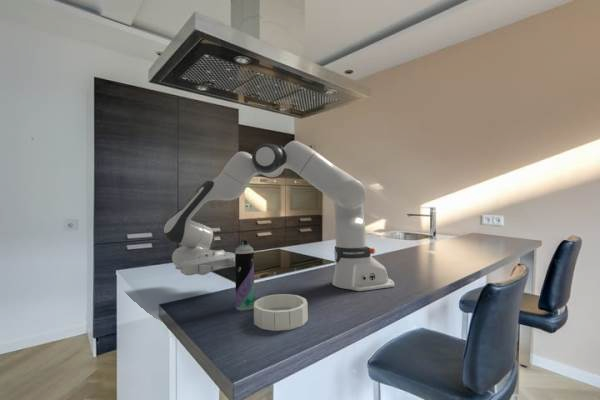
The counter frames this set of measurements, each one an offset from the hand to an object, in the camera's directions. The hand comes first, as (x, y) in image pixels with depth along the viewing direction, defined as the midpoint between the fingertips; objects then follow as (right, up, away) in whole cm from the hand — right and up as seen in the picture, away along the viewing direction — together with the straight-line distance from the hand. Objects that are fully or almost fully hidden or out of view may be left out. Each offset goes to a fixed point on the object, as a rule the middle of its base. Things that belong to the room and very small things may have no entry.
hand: (224, 266), depth 96 cm
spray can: (+8, -11, -7) cm, 15 cm away
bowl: (+19, -10, -17) cm, 28 cm away
